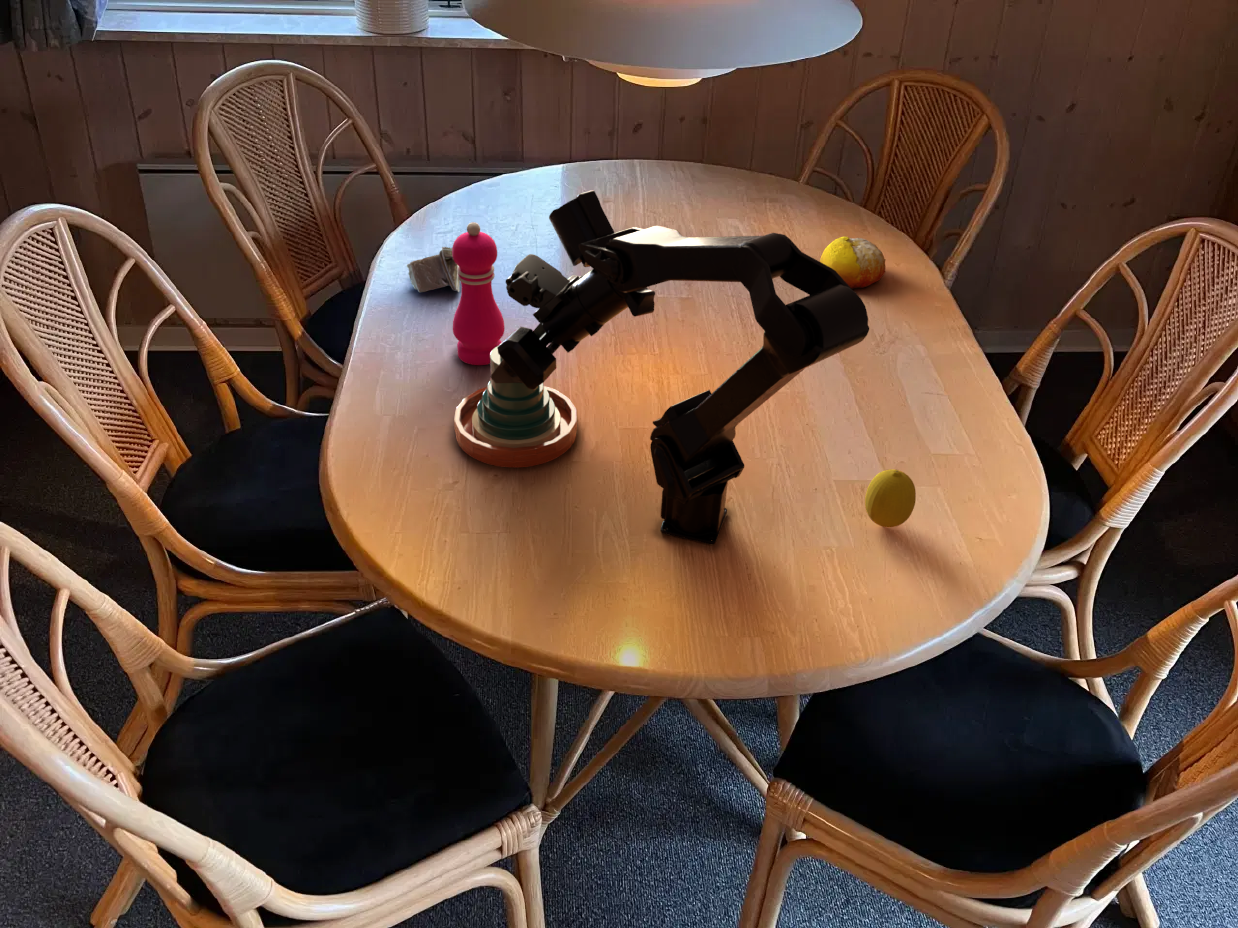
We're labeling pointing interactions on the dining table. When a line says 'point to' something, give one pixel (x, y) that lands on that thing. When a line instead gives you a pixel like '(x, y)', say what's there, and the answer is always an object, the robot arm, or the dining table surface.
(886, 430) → the dining table surface
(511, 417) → the tagine lid
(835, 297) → the robot arm
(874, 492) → the lemon
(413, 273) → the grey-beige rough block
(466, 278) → the pepper mill
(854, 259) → the fruit
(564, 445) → the tagine base
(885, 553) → the dining table surface
